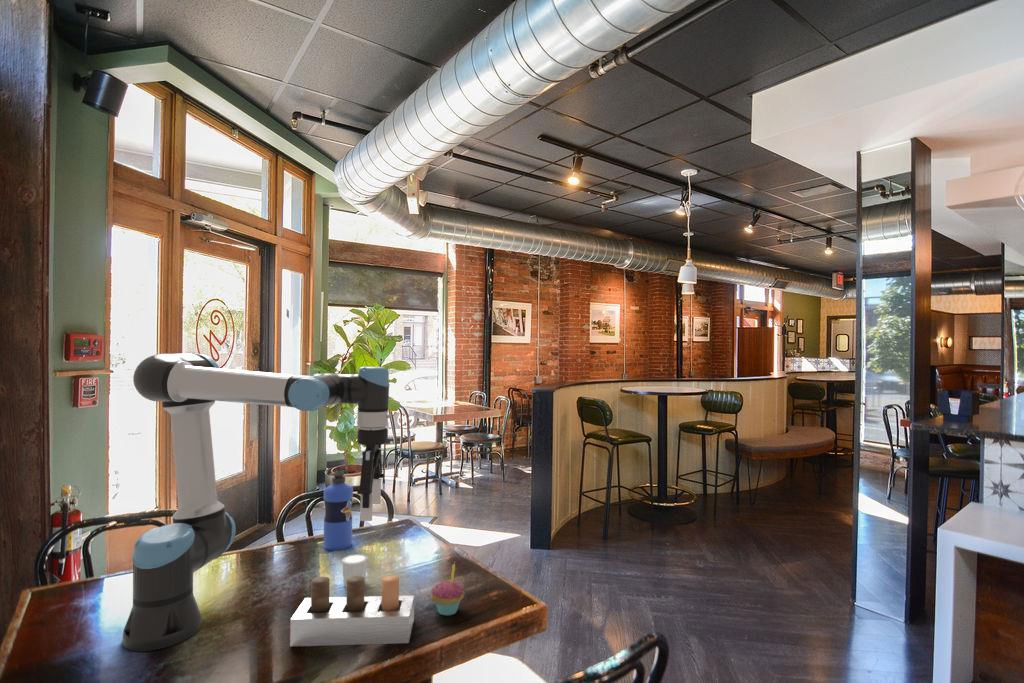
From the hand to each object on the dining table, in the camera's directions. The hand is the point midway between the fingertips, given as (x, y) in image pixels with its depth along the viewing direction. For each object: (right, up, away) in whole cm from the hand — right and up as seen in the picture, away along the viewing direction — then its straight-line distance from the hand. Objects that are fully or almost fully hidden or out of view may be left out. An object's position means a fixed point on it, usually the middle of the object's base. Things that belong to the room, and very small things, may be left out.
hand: (370, 511), depth 134 cm
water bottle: (-23, -25, +43) cm, 55 cm away
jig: (-1, -25, -11) cm, 27 cm away
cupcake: (+19, -25, 0) cm, 32 cm away
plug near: (-9, -19, -11) cm, 24 cm away
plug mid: (-1, -19, -11) cm, 22 cm away
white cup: (-9, -25, +15) cm, 30 cm away
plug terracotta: (+7, -20, -10) cm, 23 cm away
